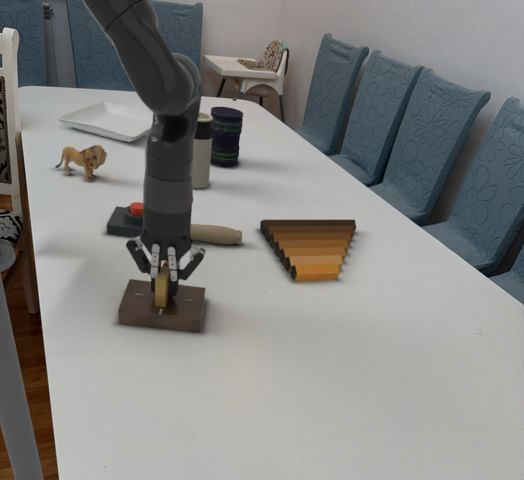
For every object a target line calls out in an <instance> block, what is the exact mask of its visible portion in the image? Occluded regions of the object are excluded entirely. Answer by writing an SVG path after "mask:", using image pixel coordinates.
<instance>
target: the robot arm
mask: <svg viewBox="0 0 524 480" xmlns="http://www.w3.org/2000/svg"><path fill="white" fill-rule="evenodd" d="M81 1H82V3H83V4H84V6H85V8H86V9H87V11H88V12H89V13H90V15H91V16H92V18H93V20H94V21H95V22H96V24H97V26H98V27H99V28H100V30H101V31H102V32H103V34H104V35H105V37H106V38H107V39H108V41H109V42H110V43H111V45H112V46H113V48H114V49H115V52H116V55H117V57H118V59H119V61H120V64H121V66H122V67H123V70H124V72H125V74H126V76H127V78H128V80H129V83H130V84H131V86H132V88H133V89H134V91H135V93H136V94H137V96H138V98H139V99H140V100H141V102H142V103H143V104H144V105H145V107H146V108H148V110H149V111H150V112H151V113H153V121H152V126H151V129H150V131H149V133H148V134H146V139H145V144H144V145H145V146H144V178H143V184H142V186H143V187H142V203H143V231H142V233H141V235H140V236H138V237H135V236H131V237H128V238H129V239H128V240H127V241H126V243H125V247H126V249H127V250H128V253H129V254H130V255H131V257H132V259H133V261H134V263H135V264H136V267H137V268H138V269H139V272H141V273H142V274H147V275H149V277H150V281H151V291H152V292H154V296H155V279H156V277H157V275H158V273H159V271H160V269H161V267H162V263H163V261H166V262H169V270H170V279H169V288H168V298H171V299H172V298H173V296H176V294H177V292H178V286H179V285H180V284H179V283H180V280H182V281H187V280H188V279H189V277H190V276H191V275H192V274H193V273H194V271H195V270H196V269H197V268H198V267H199V266H200V264H201V263H202V261H203V260H204V258H205V255H206V249H205V248H203V247H200V248H199V247H197V246H196V245H195V244H193V243H194V242H193V239H192V238H191V236H190V228H191V224H192V211H193V210H192V209H193V203H194V196H193V195H194V188H193V184H192V172H193V154H194V151H193V146H194V137H195V132H196V127H197V122H198V116H199V112H201V103H202V93H203V84H202V83H203V82H202V76H201V73H200V70H199V68H198V66H197V65H196V63H195V61H193V60H192V59H191V58H190V57H189V56H187V55H185V54H183V53H180V52H171V50H170V48H169V46H168V45H167V42H166V40H165V39H164V37H163V36H162V33H161V32H160V31H159V24H160V23H159V17H158V15H157V12H156V10H155V8H154V6H153V5H152V3H151V1H150V0H81ZM143 247H145V249H146V251H147V252H148V253H149V255H150V256H151V257H150V259H149V258H148V256H147V253H146V252H145V250H144V249H143ZM188 252H189V253H190V254H189V259H190V260H189V261H188V263H187V264H186V265H185V266H184V268H181V259H182V258H183V257H184V256H185V255H186V254H187V253H188ZM0 255H1V246H0Z"/></svg>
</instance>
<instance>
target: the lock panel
mask: <svg viewBox="0 0 524 480" xmlns="http://www.w3.org/2000/svg"><path fill="white" fill-rule="evenodd" d="M121 298H122V299H121V301H120V304H119V307H118V309H117V311H118V312H117V313H118V324H119V325H128V326H136V327H137V326H139V327H147V328H156V329H165V330H173V331H174V330H175V331H184V332H195V333H201V329H202V321H203V316H204V315H203V314H204V306H205V298H206V287H203V286H193V285H186V284H179V286H178V292H177V294H176V296H173V298H172V299H171V298H169V300H168V302H167V304H166V307H165V308H164V307H158V306H155V296H154V292H152V291H151V280H142V279H134V278H129V279H128V282H127V284H126V287H125V290H124V293H123V295H122V297H121Z"/></svg>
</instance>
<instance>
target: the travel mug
mask: <svg viewBox="0 0 524 480" xmlns="http://www.w3.org/2000/svg"><path fill="white" fill-rule="evenodd" d="M212 120H213V117H212V116H211V114H210V113H206V112H202V111H199V116H198V122H197V127H196V132H195V137H194V146H193V151H194V154H193V172H192V184H193V189H203V188H206V187H207V188H208V186H209V183H210V172H211V171H210V170H211V164H210V160H211V148H212V136H213V130H212V127H211V121H212Z"/></svg>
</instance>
